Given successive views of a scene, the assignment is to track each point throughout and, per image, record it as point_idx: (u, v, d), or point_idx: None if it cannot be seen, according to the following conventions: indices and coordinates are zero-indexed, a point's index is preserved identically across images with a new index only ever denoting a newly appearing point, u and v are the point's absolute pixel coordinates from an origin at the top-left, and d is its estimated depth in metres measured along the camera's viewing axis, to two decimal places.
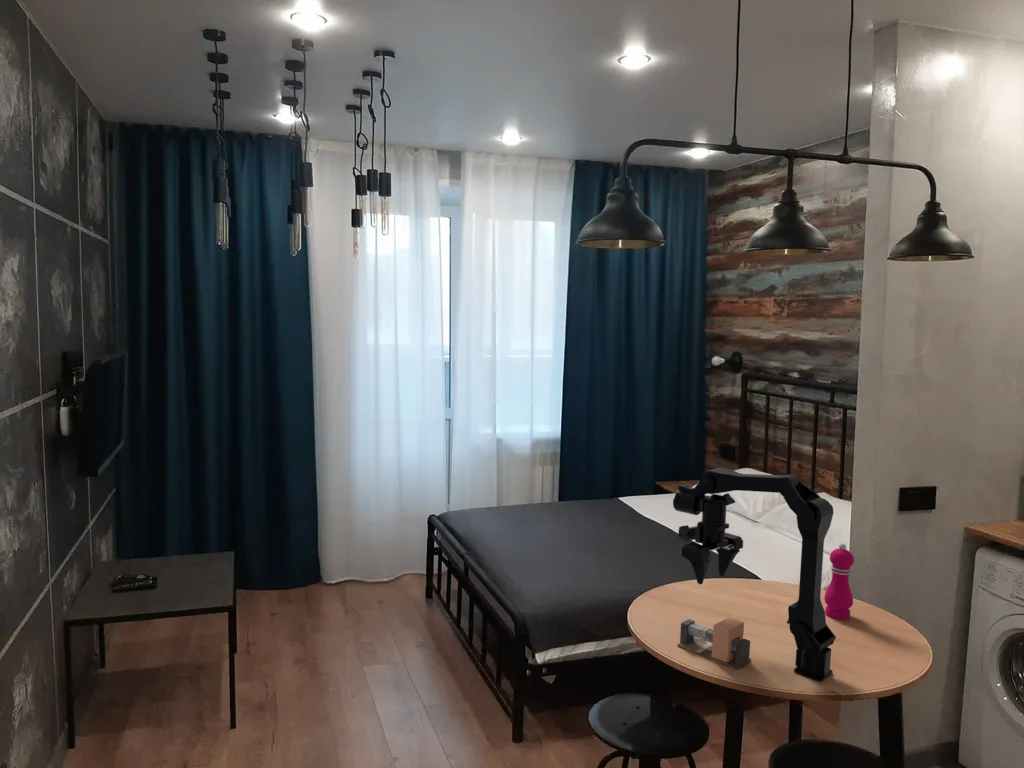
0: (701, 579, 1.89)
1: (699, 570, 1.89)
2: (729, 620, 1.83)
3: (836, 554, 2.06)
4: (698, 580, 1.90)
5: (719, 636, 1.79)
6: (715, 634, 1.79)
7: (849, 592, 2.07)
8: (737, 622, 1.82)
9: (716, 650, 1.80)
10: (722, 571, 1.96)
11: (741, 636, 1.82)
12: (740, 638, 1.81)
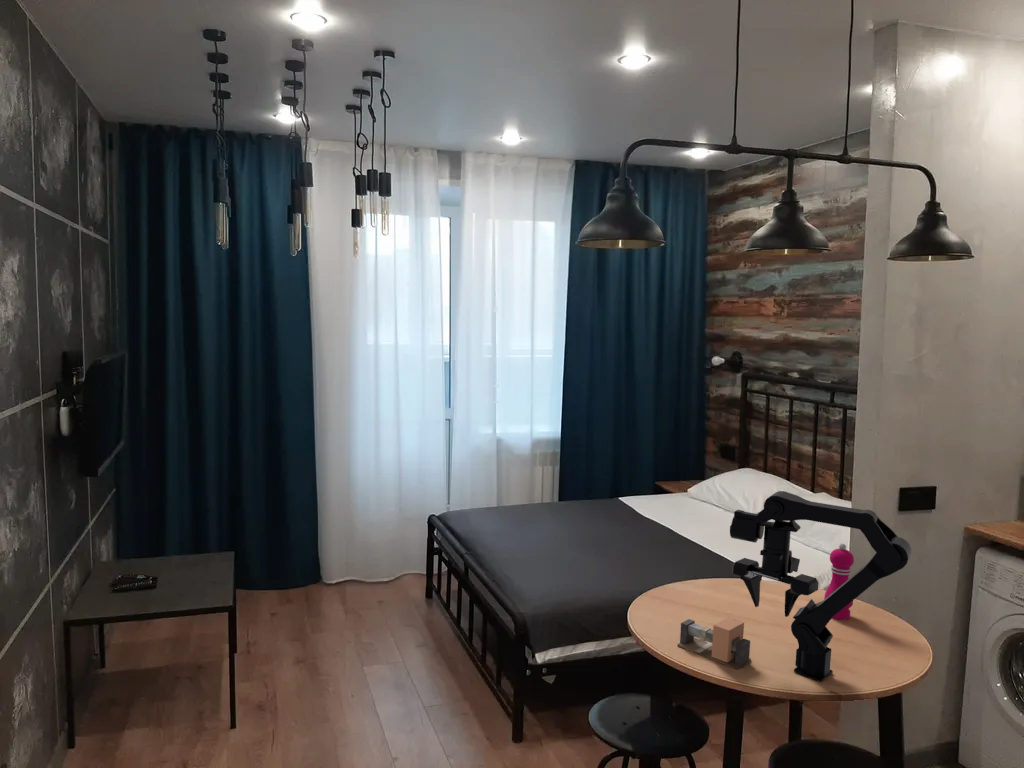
0: None
1: None
2: (729, 620, 1.83)
3: (836, 554, 2.06)
4: None
5: (719, 636, 1.79)
6: (715, 634, 1.79)
7: None
8: (737, 622, 1.82)
9: (716, 650, 1.80)
10: None
11: (741, 636, 1.82)
12: (740, 638, 1.81)
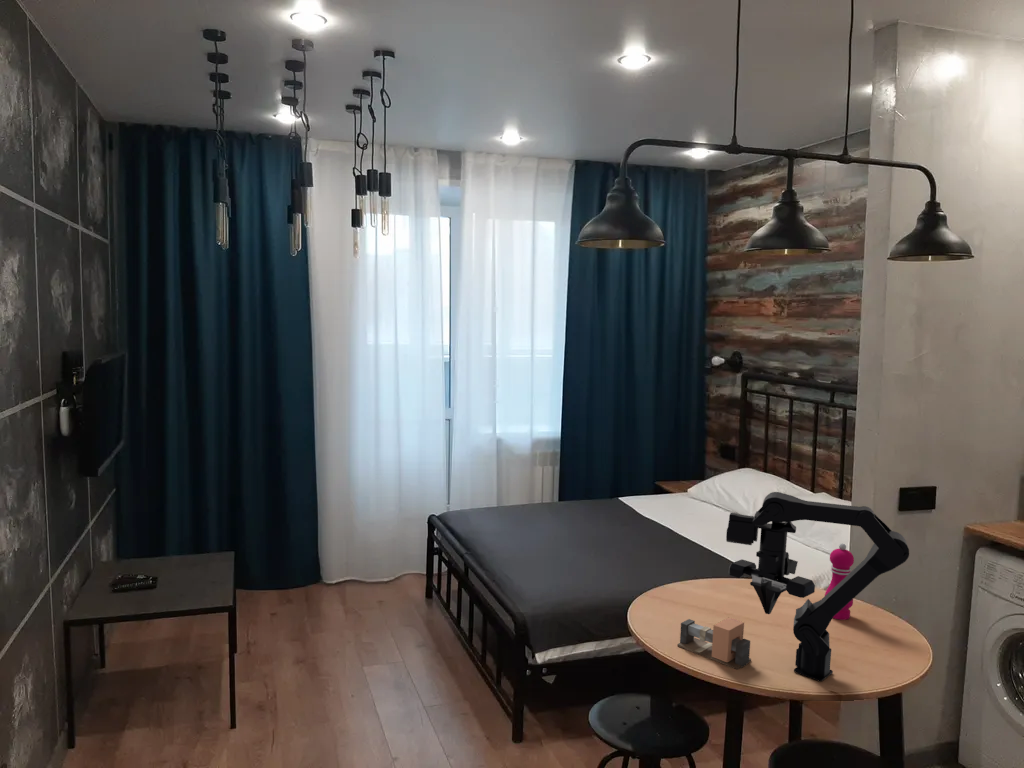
0: None
1: None
2: (729, 620, 1.83)
3: (836, 554, 2.06)
4: None
5: (719, 636, 1.79)
6: (715, 634, 1.79)
7: None
8: (737, 622, 1.82)
9: (716, 650, 1.80)
10: None
11: (741, 636, 1.82)
12: (740, 638, 1.81)
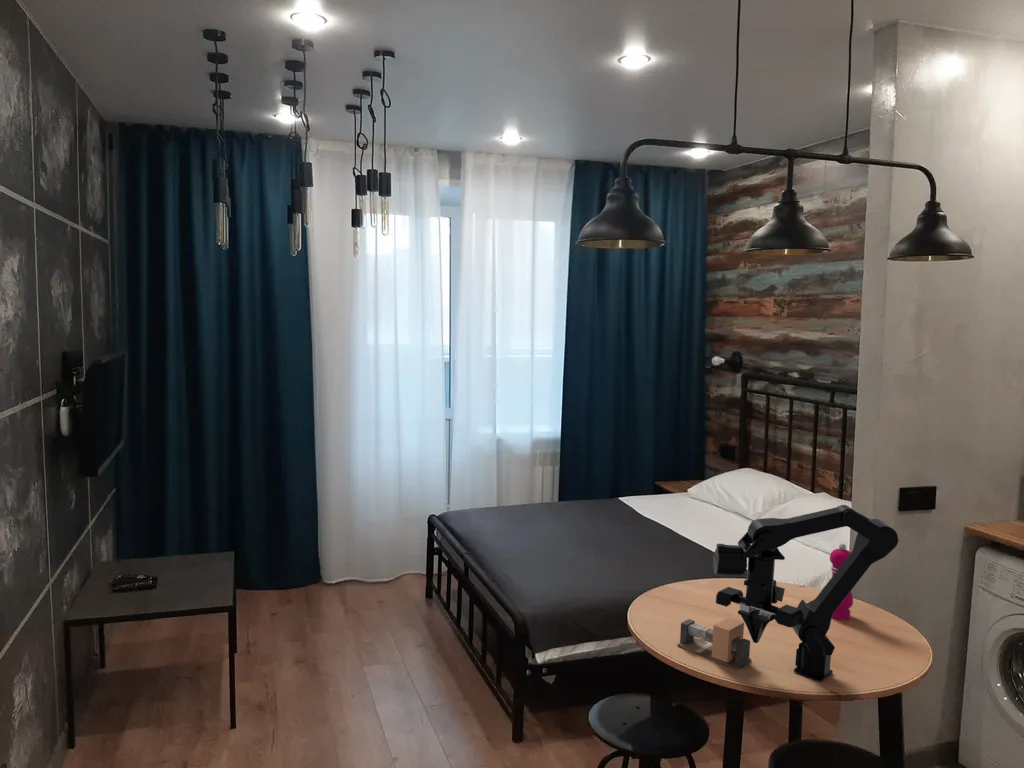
0: None
1: None
2: (729, 620, 1.83)
3: (836, 554, 2.06)
4: None
5: (719, 636, 1.79)
6: (715, 634, 1.79)
7: None
8: (737, 622, 1.82)
9: (716, 650, 1.80)
10: None
11: (741, 636, 1.82)
12: (740, 638, 1.81)
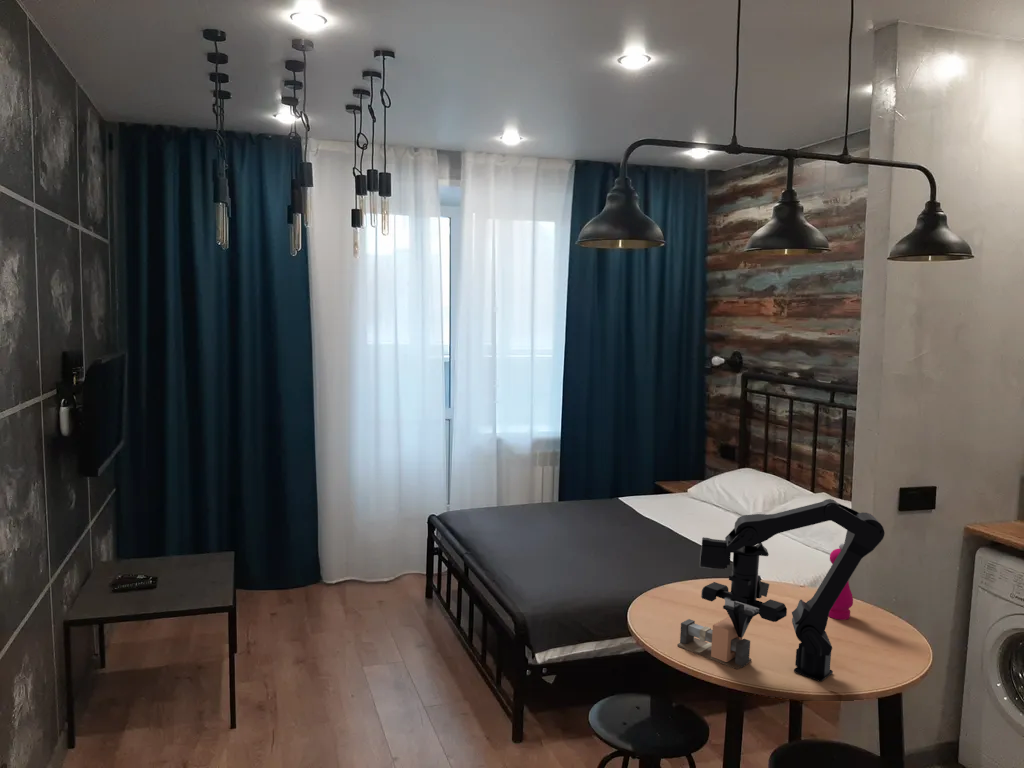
0: None
1: None
2: (728, 620, 1.83)
3: (836, 554, 2.06)
4: None
5: (718, 636, 1.79)
6: (715, 634, 1.80)
7: (849, 592, 2.07)
8: None
9: (715, 650, 1.80)
10: None
11: None
12: (739, 638, 1.81)
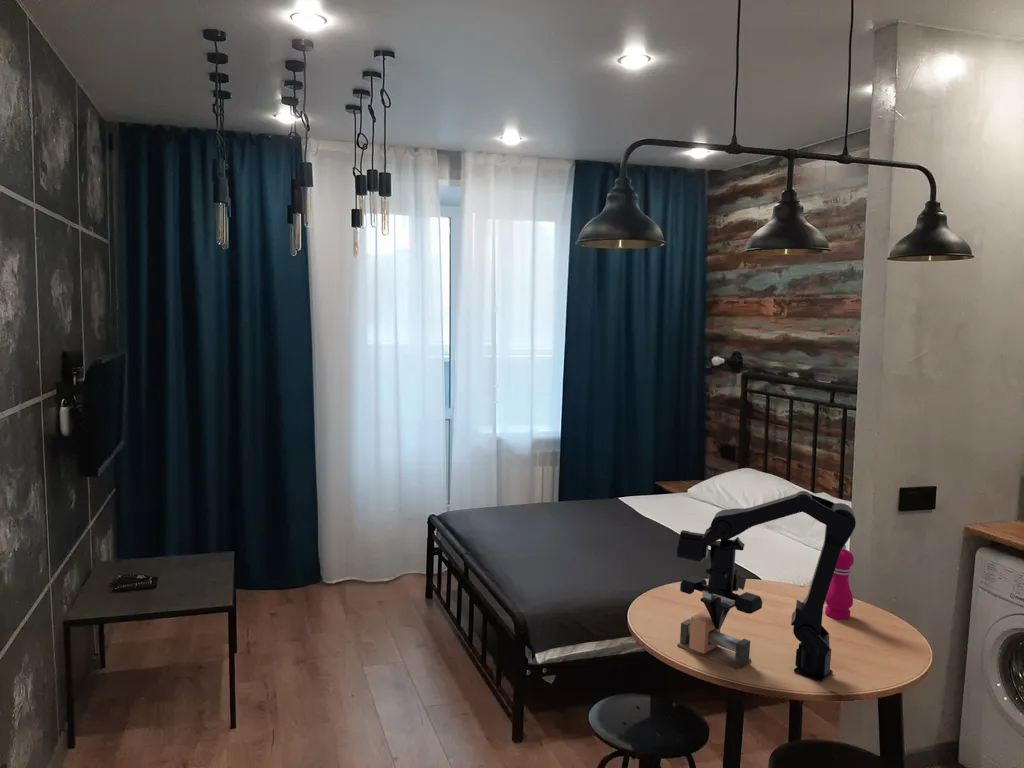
0: None
1: None
2: (706, 612, 1.87)
3: None
4: None
5: (696, 628, 1.83)
6: (692, 626, 1.84)
7: (849, 592, 2.07)
8: None
9: (693, 642, 1.84)
10: None
11: None
12: (717, 630, 1.86)
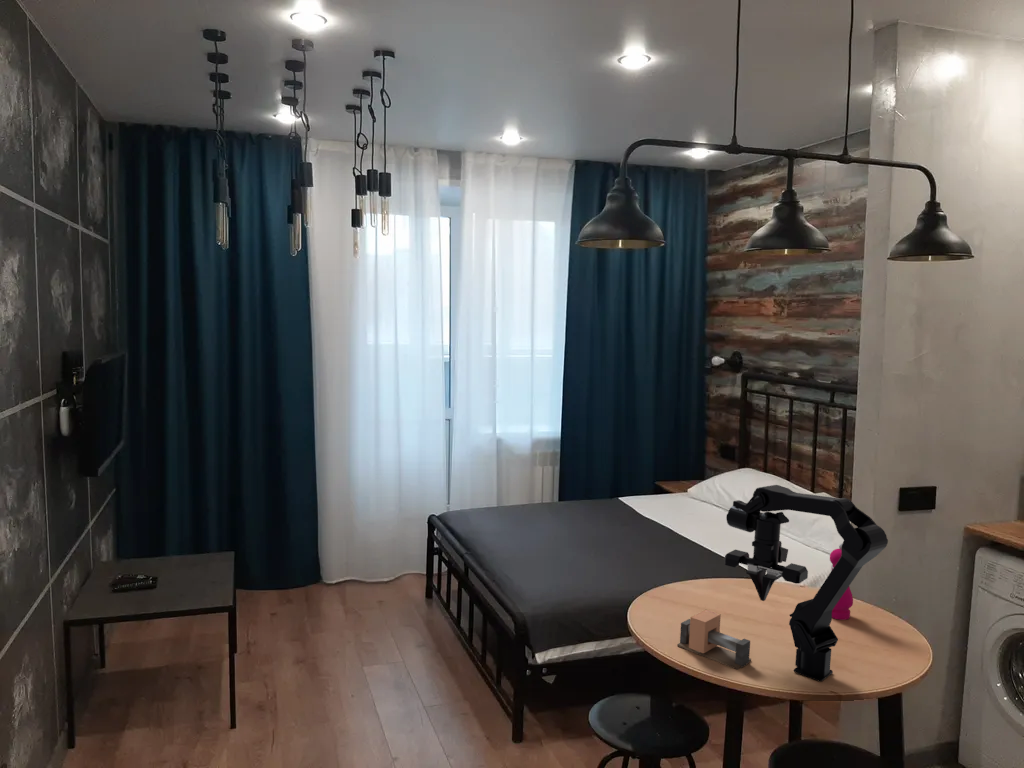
0: None
1: None
2: (706, 612, 1.87)
3: (836, 554, 2.06)
4: None
5: (696, 628, 1.83)
6: (692, 626, 1.84)
7: (849, 592, 2.07)
8: (713, 614, 1.86)
9: (693, 642, 1.84)
10: None
11: (718, 628, 1.86)
12: (717, 630, 1.86)
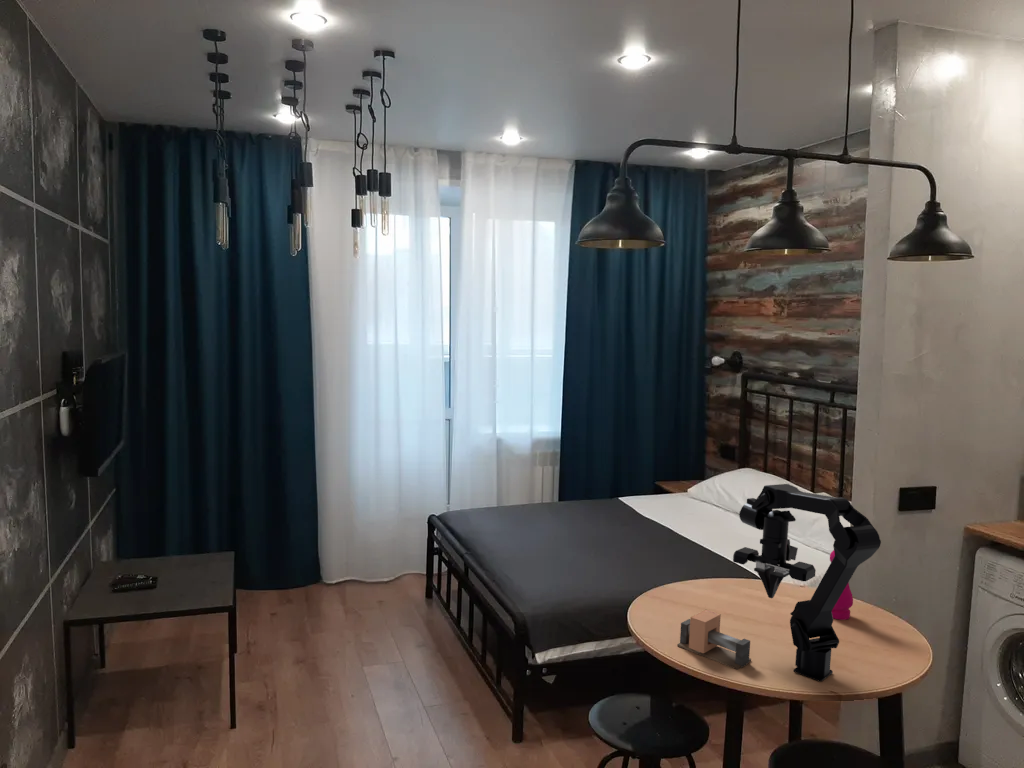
0: None
1: None
2: (706, 612, 1.87)
3: None
4: None
5: (696, 628, 1.83)
6: (692, 626, 1.84)
7: (849, 592, 2.07)
8: (713, 614, 1.86)
9: (693, 642, 1.84)
10: None
11: (718, 628, 1.86)
12: (717, 630, 1.86)
